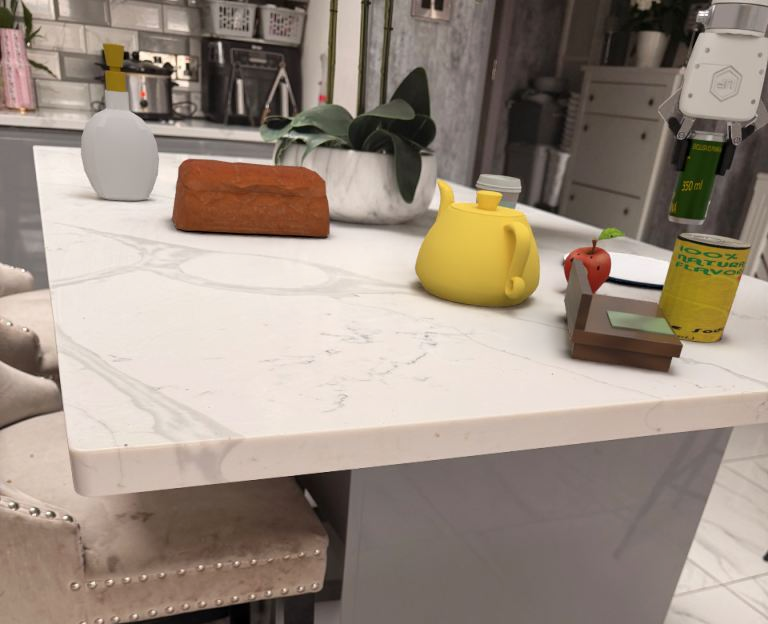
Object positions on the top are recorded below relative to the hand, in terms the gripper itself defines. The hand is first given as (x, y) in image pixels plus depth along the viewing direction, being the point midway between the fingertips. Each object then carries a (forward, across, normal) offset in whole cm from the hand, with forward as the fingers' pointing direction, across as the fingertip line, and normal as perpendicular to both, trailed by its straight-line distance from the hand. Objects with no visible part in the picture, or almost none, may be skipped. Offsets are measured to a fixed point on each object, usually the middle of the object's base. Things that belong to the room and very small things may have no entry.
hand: (698, 171), depth 109 cm
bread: (+17, -71, +12) cm, 74 cm away
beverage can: (+19, 0, -17) cm, 26 cm away
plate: (+18, -3, +20) cm, 27 cm away
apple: (+19, -13, -3) cm, 23 cm away
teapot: (+18, -30, -12) cm, 37 cm away
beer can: (+7, 0, 0) cm, 7 cm away
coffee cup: (+18, -29, +28) cm, 44 cm away
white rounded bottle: (+17, -101, +24) cm, 105 cm away
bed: (+19, -11, -28) cm, 36 cm away
